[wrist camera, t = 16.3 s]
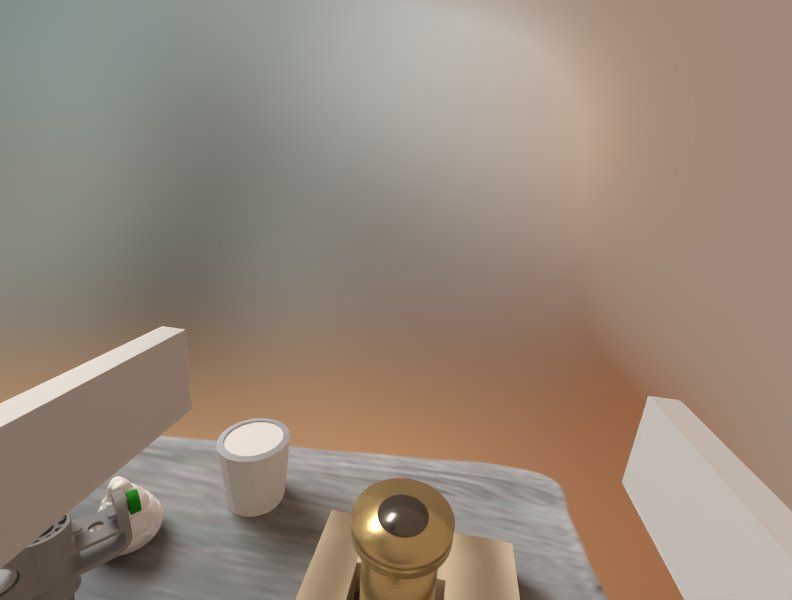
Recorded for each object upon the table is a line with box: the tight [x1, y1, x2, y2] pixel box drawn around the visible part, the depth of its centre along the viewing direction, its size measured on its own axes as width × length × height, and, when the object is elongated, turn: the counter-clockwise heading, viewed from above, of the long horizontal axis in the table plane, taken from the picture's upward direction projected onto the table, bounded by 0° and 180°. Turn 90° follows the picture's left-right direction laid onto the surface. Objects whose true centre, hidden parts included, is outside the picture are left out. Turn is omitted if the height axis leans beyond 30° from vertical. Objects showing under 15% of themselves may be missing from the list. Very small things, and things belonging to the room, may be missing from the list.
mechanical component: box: [0, 489, 142, 600], centre depth 26 cm, size 3×10×10 cm, turn 133°
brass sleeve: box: [351, 478, 455, 600], centre depth 26 cm, size 6×6×12 cm
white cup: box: [216, 418, 290, 517], centre depth 40 cm, size 7×7×7 cm
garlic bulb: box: [89, 477, 164, 556], centre depth 35 cm, size 6×6×5 cm
